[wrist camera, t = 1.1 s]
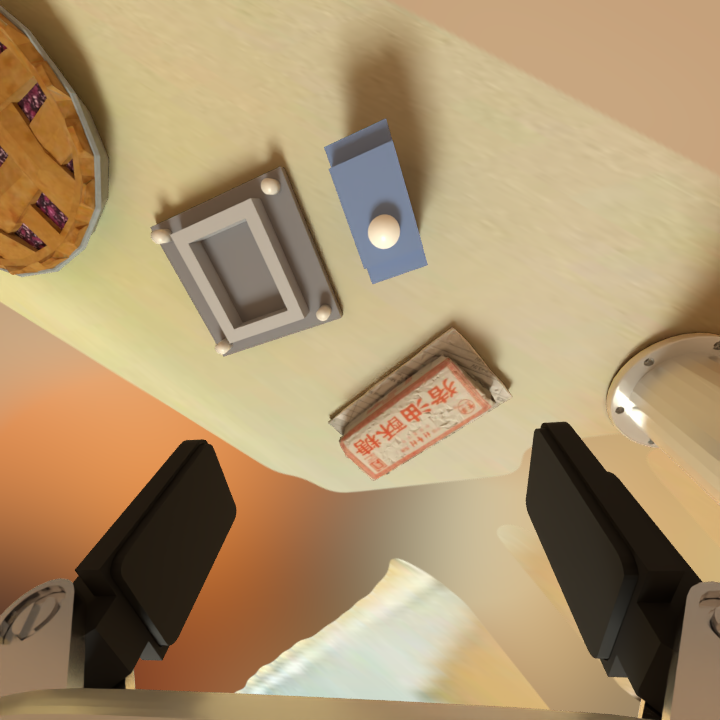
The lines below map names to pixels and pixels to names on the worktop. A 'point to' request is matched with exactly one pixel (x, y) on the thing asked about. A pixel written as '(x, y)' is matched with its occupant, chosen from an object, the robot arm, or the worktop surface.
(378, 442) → the packaged product
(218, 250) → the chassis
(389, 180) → the block
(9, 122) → the pie
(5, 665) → the robot arm
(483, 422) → the worktop surface
